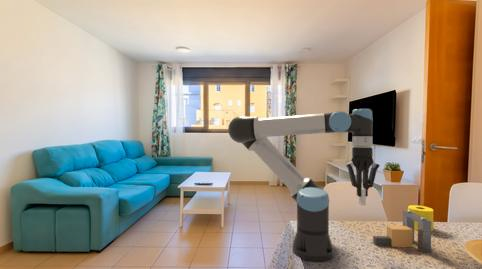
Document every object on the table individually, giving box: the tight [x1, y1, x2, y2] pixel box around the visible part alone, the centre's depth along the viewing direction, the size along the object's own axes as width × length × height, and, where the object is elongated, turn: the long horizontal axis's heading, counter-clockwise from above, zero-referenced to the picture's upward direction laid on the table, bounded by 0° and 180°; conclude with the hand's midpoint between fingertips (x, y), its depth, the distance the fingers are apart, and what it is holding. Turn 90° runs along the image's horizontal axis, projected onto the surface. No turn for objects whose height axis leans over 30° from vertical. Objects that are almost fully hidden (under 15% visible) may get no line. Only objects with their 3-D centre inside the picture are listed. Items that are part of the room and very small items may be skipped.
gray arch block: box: [402, 209, 432, 254], centre depth 103 cm, size 3×13×12 cm, turn 177°
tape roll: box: [407, 204, 434, 232], centre depth 122 cm, size 10×10×9 cm
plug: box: [372, 225, 414, 248], centre depth 103 cm, size 14×4×7 cm, turn 87°
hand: (362, 204), depth 104 cm, fingers closed
